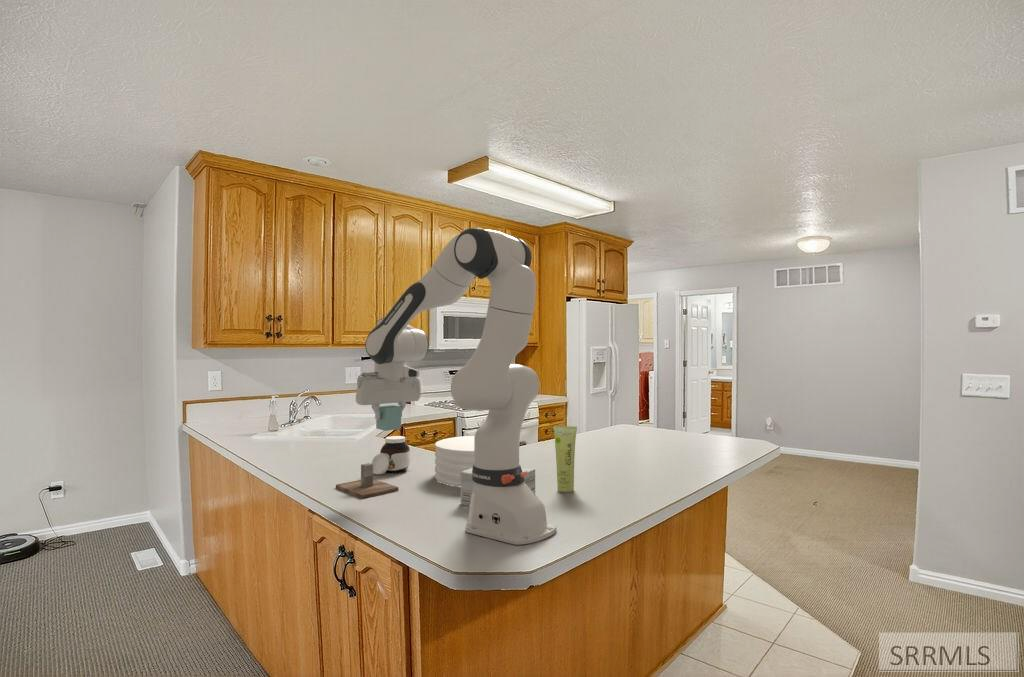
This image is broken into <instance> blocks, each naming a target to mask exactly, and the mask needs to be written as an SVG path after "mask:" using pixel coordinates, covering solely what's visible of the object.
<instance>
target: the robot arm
mask: <svg viewBox="0 0 1024 677" xmlns="http://www.w3.org/2000/svg"><path fill="white" fill-rule="evenodd" d="M532 257H533V256H532V251H531V248H530V246H529V245H528V244H527V242H525V241H524V240H522V239H521V238H519V237H517V236H512V235H508V234H506V233H504V232H501V231H497V230H494V229H493V230H492V229H484V228H482V227H471V228H467V229H464V230H462V231H461V232H460V233H459V234H457V235H455V236H453V237H452V238H451V239H450V241H448V243H447V244H446V245H445V247H444V248H443V249H442V250H441V252H440V253H439V255H438V256H437V257H436V259H435V261H434V263H432V266H431V267H430V268H429V269H428V271H427V272H426V273H425V274H424V275H423V276H422V277H421V278H420V279H419V280H417V281H416V282H414V283H413V284H411V285H410V286H409V287H407V288H406V290H405V291H404V292H403V293H402V294H401V296H400V297H399V299H397V301H396V302H395V303H394V305H393V306H392V308H391V309H390V310H389V312H388V313H386V315H385V317H382V318H380V319H379V320H378V321H377V324H376V326H374V328H373V329H372V330H371V331H370V332H368V335H367V337H366V339H365V345H364V347H365V351H366V353H367V355H368V357H369V358H370V359H371V360H372V361H373V362H374V368H373V369H374V371H373V372H362V373H361V374H359V375H358V377H357V378H356V385H357V386H356V392H355V402H356V404H357V405H360V406H371V409H372V411H373V412H374V418H375V420H376V419H377V420H380V419H383V417H382V416H383V413H380V412H379V410H378V408H380V406H381V405H383V404H384V405H386V404H395V403H397V406H400V407H401V418H402V417H403V412H404V409H405V408H406V406H407V403H410V402H418V401H419V400H420V399H421V396H422V395H421V394H422V393H421V392H422V390H421V389H422V388H421V380H420V379H419V377H420V370H418V369H415V368H412V367H410V366H407V365H406V362H409V363H411V362H418V361H422V360H424V359H425V358H426V357H427V354H428V352H429V350H430V341H429V338H428V335H427V334H426V332H425V331H424V330H422V329H419V328H416V327H414V326H412V325H410V323H411V321H412V320H413V319H414V318H415V317H416V316H418V315H419V314H421V313H422V312H426V311H427V310H431V309H436V308H440V307H445V306H450V305H453V304H455V303H456V302H458V301H459V300H460V299H461V298H462V297H463V296H464V295H465V294H466V292H467V291H468V289H469V287H470V286H471V284H472V282H473V281H474V280H475V277H476V278H478V279H480V280H483V279H485V278H486V279H487V280H488V282H489V284H490V295H489V300H488V306H487V310H486V316H485V321H484V327H483V329H482V330H483V331H482V335H481V338H480V341H479V343H478V345H477V347H476V348H475V350H474V352H473V353H472V355H471V357H470V358H469V359H468V361H467V363H465V364H464V365H463V366H462V367H461V368H460V369H458V370H457V371H456V372H455V374H454V375H453V377H452V379H451V382H450V393H451V397H452V400H453V401H454V403H455V405H456V406H458V407H459V408H461V409H463V410H467V411H468V410H469V411H476V412H484V411H488V413H487V416H486V418H485V420H484V422H483V424H481V425H480V426H479V427H478V429H477V430H476V432H475V433H474V436H475V437H474V465H473V470H472V480H473V481H474V486H473V491H472V494H471V501H470V506H469V512H468V519H467V522H466V523H467V524H466V525H465V532H466V533H468V534H472V535H476V536H479V537H480V536H481V537H483V538H487V539H491V540H496V541H499V542H503V543H508V544H511V545H514V546H515V545H517V546H519V545H527V544H532V543H533V544H534V543H537V542H540V541H541V540H544V539H547V538H550V537H551V536H553V535H554V534H555V533H556V532H557V525H555V524H553V523H550V522H549V521H547V513H546V508H545V505H544V503H543V502H542V500H541V499H540V498H539V497H538V496H537V495H536V493H535V494H534V493H533V492H532V491H531V489H530V488H529V487H528V486H527V485H526V484H525V482H524V481H525V479H524V477H525V476H528V475H524V474H526V473H527V471H525V472H522V469H521V468H522V466H521V464H520V442H521V441H520V440H521V439H520V438H521V430H522V427H523V423H524V420H525V416H526V414H527V412H528V410H529V408H530V405H531V403H532V402H533V401H534V400H535V399H536V398H537V396H538V395H539V392H540V388H541V387H540V385H541V383H540V379H539V376H538V374H537V373H536V371H535V370H534V369H533V368H531V367H529V366H527V365H522V364H517V363H513V361H514V359H515V358H516V356H517V355H518V354H519V353H521V352H522V351H523V350H524V349H525V348H526V346H527V344H528V342H529V337H530V332H531V326H532V322H533V317H534V310H535V305H536V304H535V303H536V293H537V292H536V291H537V290H536V289H537V287H536V286H537V280H536V278H537V277H536V274H535V272H534V271H533V270H532V269H531V268H530V267H531V265H532V264H531V263H532V260H533V258H532Z"/></svg>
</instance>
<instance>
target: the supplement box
mask: <svg viewBox="0 0 1024 677" xmlns="http://www.w3.org/2000/svg"><path fill="white" fill-rule="evenodd" d="M521 469H522V472H525V471H527V473H526V474H524V475H528V476H525V477H524V479H525V481H524V482H525V484H526V485H527V486H528V487H529V488H530V489H531V491H532V492H533V493H534V494H535V495H536V469H535V468H525V467H521ZM472 470H473V468H470V469H467V470H464V471H462V472H461V487H460V502H459V504H460V503H461V504H460V505H462V504H465V505H464V506H467V505H470V501H471V494H472V491H473V486H474V481H473V480H472Z"/></svg>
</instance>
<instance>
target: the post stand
mask: <svg viewBox="0 0 1024 677" xmlns="http://www.w3.org/2000/svg"><path fill="white" fill-rule="evenodd" d="M335 488H336V489H338V490H340V491H342V492H345V493H347V494H350V495H352V496H354V497H357V498H360V499H366V498H372V497H377V496H381V495H384V494H389V493H393V492H398V491H399V487H398V486H395V485H393V484H390V483H388V482H385V481H382V480H378V479H375V478H374V473H373V464H371V463H369V462H366V463H363V464H360V479H358V480H353V481H347V482H343V483H339V484H335Z"/></svg>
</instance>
